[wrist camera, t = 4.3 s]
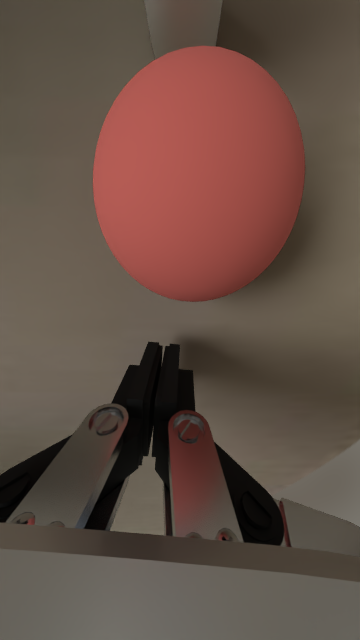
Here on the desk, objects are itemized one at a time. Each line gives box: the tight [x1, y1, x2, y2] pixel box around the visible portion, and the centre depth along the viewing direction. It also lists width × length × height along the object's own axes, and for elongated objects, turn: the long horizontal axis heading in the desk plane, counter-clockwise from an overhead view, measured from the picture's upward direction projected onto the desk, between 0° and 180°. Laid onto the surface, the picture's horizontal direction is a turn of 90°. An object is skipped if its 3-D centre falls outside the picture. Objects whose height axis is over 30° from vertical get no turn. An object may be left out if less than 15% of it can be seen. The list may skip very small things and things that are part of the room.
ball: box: [93, 46, 305, 302], centre depth 6 cm, size 6×6×6 cm
